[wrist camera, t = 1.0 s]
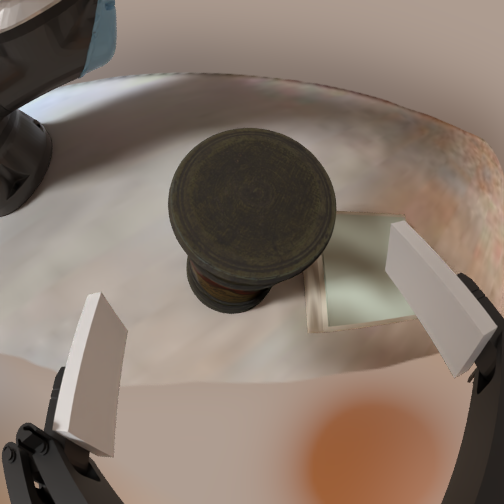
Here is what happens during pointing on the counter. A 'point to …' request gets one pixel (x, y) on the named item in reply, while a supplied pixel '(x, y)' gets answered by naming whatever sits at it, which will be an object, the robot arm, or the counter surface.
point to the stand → (354, 277)
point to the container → (249, 215)
